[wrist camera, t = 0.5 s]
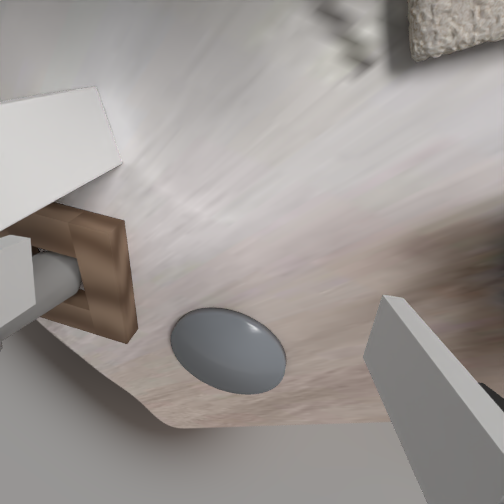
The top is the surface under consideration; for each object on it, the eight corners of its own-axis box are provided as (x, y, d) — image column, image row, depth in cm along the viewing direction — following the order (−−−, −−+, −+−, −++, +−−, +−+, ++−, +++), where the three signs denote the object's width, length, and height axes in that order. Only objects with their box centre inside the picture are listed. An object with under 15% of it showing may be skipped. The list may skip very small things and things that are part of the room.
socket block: (-16, 184, 33) (-40, 194, 31) (124, 220, 31) (108, 233, 29) (28, 295, 42) (12, 308, 40) (138, 328, 40) (127, 344, 38)
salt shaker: (87, 291, 38) (-10, 386, 28) (44, 267, 38) (-71, 355, 27) (95, 259, 35) (-14, 354, 24) (47, 233, 34) (-84, 318, 24)
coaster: (173, 293, 35) (169, 299, 34) (298, 329, 33) (296, 336, 32) (175, 368, 43) (172, 374, 42) (275, 399, 41) (273, 406, 40)
